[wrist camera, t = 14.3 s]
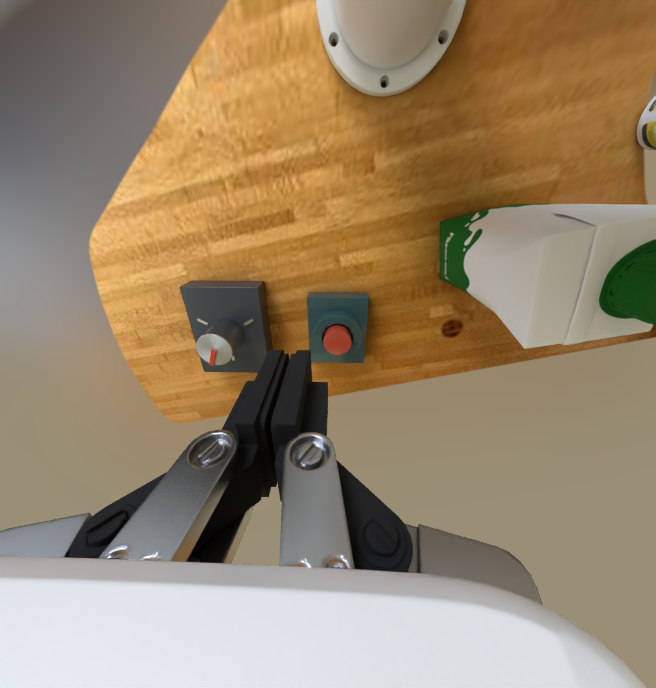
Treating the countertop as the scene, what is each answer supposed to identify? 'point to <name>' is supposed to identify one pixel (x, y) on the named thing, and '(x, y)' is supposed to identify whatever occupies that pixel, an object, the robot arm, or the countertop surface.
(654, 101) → the supplement bottle
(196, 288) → the plate
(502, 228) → the milk carton
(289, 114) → the countertop surface
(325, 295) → the teal button housing
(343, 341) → the button
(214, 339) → the rotary knob
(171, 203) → the countertop surface
